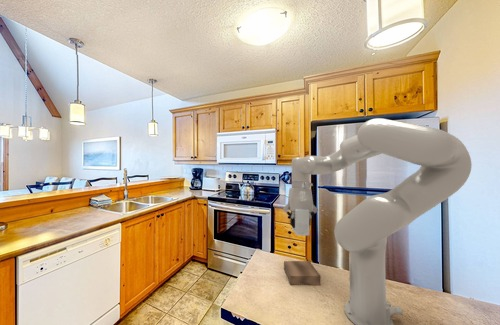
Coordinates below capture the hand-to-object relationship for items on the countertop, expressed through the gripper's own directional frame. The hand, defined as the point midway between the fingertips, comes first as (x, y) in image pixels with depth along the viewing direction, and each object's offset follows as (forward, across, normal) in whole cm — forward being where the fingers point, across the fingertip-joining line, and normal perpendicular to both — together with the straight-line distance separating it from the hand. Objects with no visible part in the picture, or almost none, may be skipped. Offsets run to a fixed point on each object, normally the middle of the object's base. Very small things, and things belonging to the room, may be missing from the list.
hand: (300, 226), depth 79 cm
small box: (+3, 0, 0) cm, 3 cm away
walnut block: (+22, 0, 0) cm, 22 cm away
